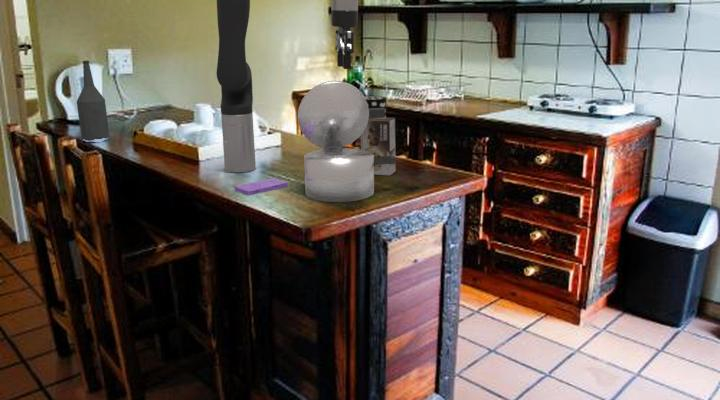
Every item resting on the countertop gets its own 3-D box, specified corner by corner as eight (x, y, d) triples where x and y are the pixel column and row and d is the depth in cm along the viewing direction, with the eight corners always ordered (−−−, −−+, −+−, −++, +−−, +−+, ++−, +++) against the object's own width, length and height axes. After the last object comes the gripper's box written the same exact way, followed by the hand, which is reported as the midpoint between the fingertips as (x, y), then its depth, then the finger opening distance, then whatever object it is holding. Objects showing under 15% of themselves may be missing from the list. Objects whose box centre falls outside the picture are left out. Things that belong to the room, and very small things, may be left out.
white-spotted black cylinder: (359, 158, 204) (358, 96, 198) (384, 157, 205) (384, 96, 199) (361, 163, 196) (360, 100, 190) (387, 163, 197) (387, 99, 191)
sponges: (288, 188, 170) (287, 182, 170) (248, 197, 162) (247, 190, 162) (274, 183, 175) (273, 177, 175) (234, 192, 168) (234, 185, 167)
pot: (310, 204, 154) (308, 164, 151) (301, 185, 171) (300, 150, 168) (403, 197, 159) (404, 159, 156) (386, 180, 176) (386, 145, 173)
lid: (298, 83, 158) (296, 79, 161) (298, 152, 168) (297, 147, 171) (387, 80, 163) (384, 76, 166) (383, 148, 173) (380, 142, 176)
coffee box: (396, 171, 186) (396, 117, 182) (390, 176, 181) (390, 120, 176) (367, 169, 189) (367, 116, 185) (360, 173, 183) (359, 119, 179)
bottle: (76, 141, 237) (65, 61, 229) (98, 137, 245) (88, 59, 237) (93, 144, 232) (82, 61, 223) (115, 139, 240) (106, 60, 231)
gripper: (327, 9, 182) (326, 65, 186) (336, 8, 169) (335, 69, 173) (352, 9, 184) (351, 66, 188) (363, 9, 170) (362, 69, 175)
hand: (343, 67), depth 181 cm, fingers open, 8 cm apart
